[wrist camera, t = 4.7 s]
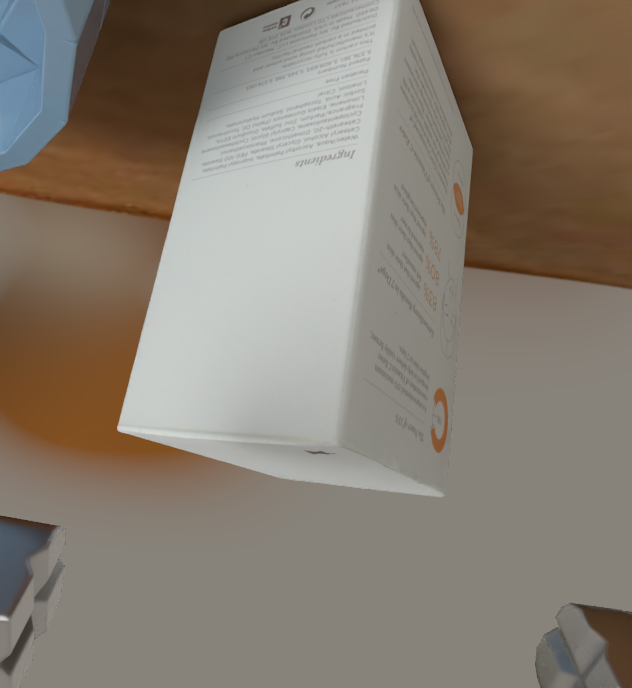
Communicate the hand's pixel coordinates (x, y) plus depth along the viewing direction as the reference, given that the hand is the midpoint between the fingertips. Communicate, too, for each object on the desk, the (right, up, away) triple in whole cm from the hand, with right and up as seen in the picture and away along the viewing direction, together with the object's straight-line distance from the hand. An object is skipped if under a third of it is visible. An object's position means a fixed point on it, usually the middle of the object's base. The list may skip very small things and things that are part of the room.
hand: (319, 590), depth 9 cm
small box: (+1, +13, +10) cm, 17 cm away
